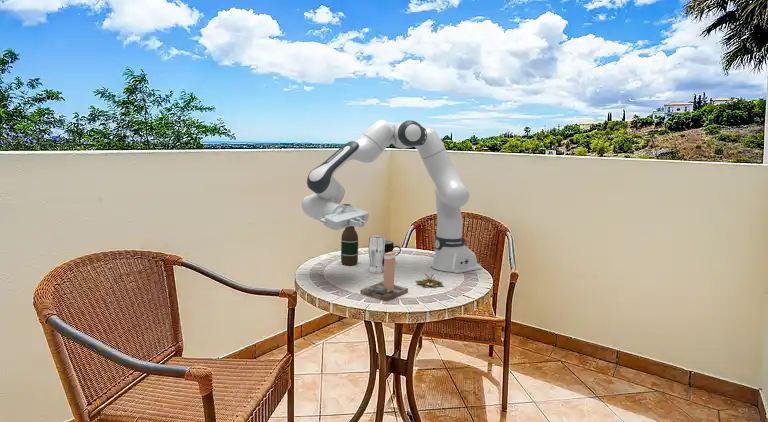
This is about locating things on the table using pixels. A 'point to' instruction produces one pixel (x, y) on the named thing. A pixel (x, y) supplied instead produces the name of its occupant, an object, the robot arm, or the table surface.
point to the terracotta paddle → (389, 271)
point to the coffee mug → (389, 248)
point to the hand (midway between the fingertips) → (363, 224)
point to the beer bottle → (349, 246)
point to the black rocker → (380, 290)
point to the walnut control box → (384, 296)
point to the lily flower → (433, 282)
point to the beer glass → (376, 253)
